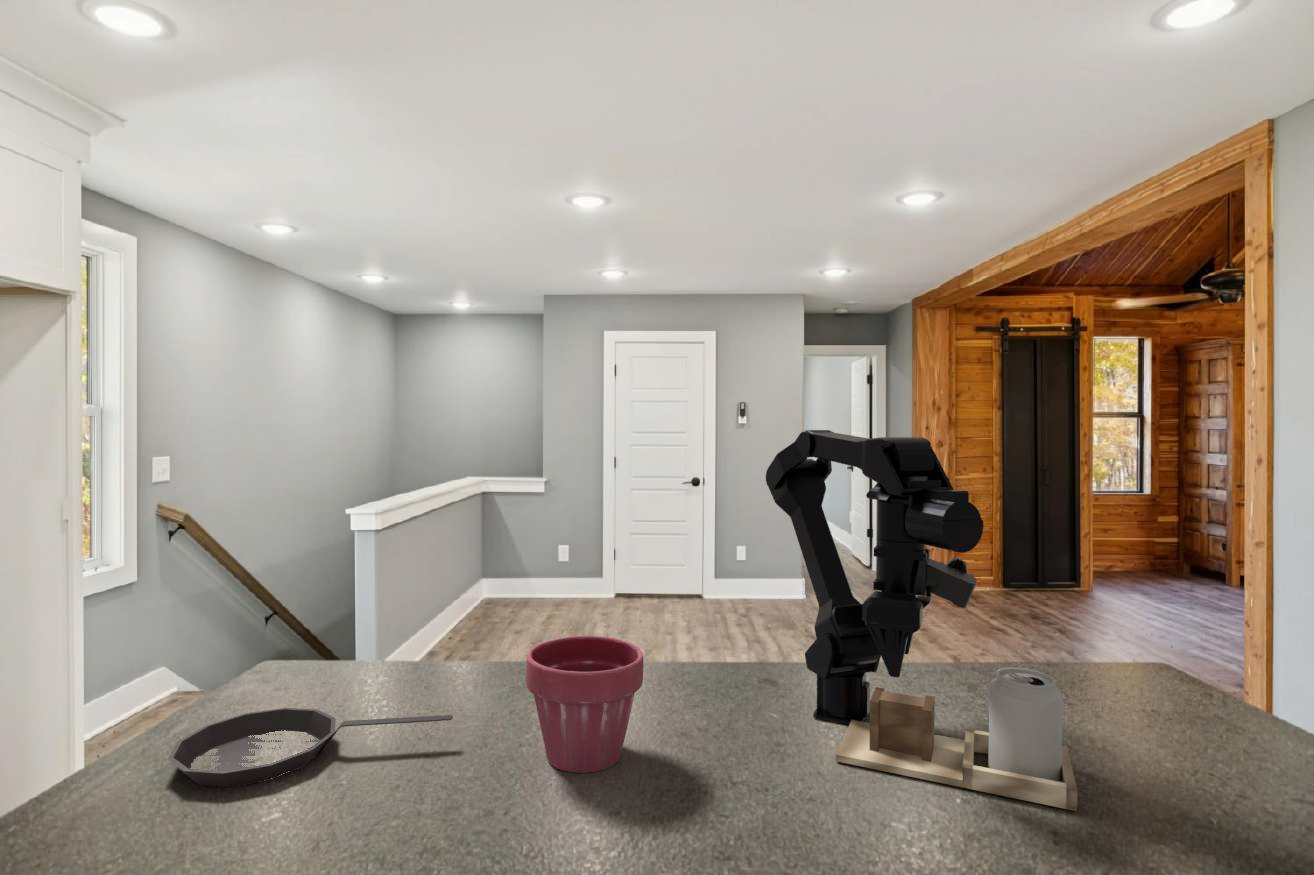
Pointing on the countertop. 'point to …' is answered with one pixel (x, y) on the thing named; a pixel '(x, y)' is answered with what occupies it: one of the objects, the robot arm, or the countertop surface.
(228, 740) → the frying pan
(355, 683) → the countertop surface
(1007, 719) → the can
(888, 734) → the wooden divided tray
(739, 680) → the countertop surface
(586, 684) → the plant pot
